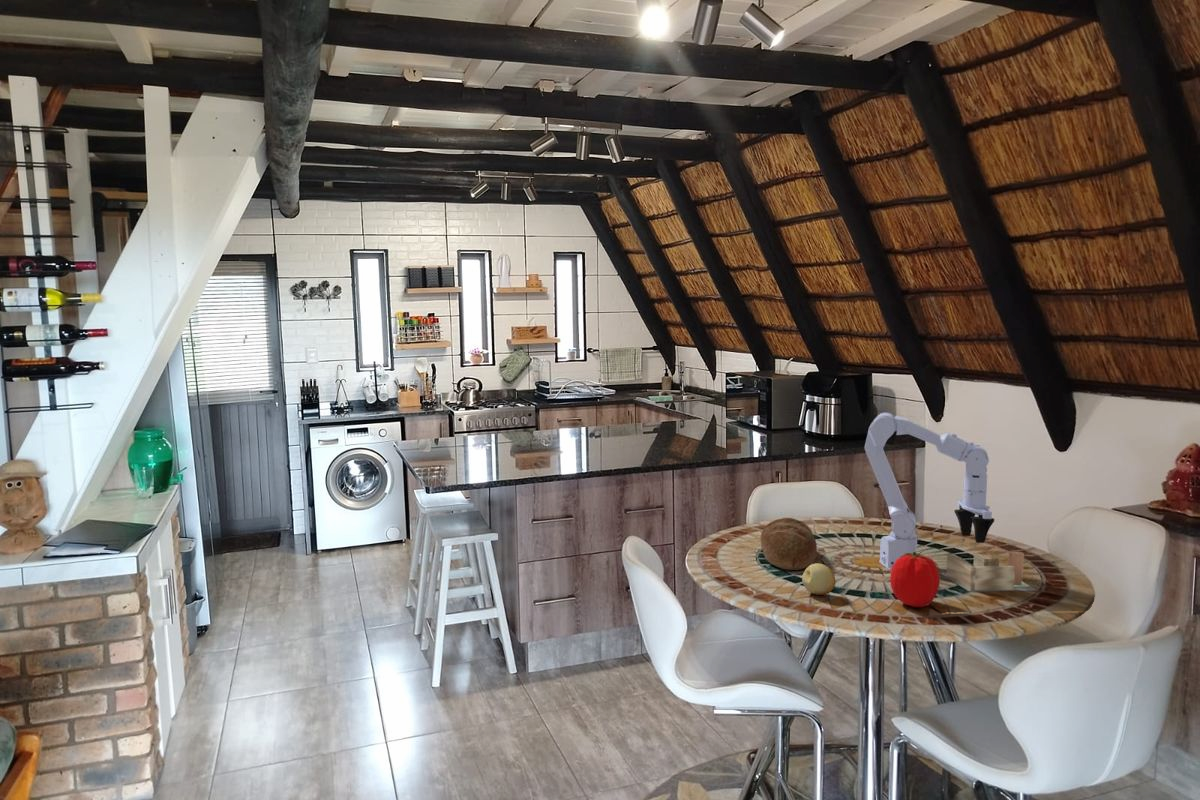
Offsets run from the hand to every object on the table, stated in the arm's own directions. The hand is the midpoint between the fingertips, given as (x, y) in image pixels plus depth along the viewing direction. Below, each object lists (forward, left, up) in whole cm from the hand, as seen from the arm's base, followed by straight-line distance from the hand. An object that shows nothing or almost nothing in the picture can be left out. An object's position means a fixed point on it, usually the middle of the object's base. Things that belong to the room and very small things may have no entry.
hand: (972, 538), depth 227 cm
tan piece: (-3, -9, -9) cm, 13 cm away
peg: (+6, -11, -9) cm, 15 cm away
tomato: (-27, -24, -10) cm, 38 cm away
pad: (+6, -11, -9) cm, 16 cm away
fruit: (-48, -15, -10) cm, 51 cm away
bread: (-46, +19, -10) cm, 51 cm away
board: (0, -8, -10) cm, 13 cm away
